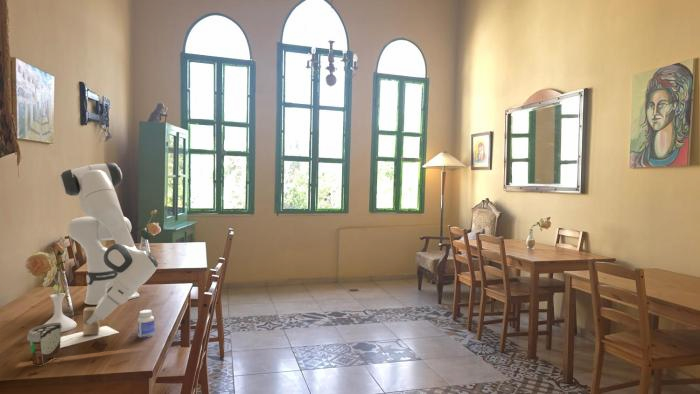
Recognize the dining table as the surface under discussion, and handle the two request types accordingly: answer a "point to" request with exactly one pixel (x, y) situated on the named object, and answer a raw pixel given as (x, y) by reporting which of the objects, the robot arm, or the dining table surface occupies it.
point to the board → (79, 337)
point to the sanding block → (94, 327)
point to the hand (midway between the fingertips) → (89, 320)
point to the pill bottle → (146, 324)
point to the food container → (44, 342)
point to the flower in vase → (58, 304)
